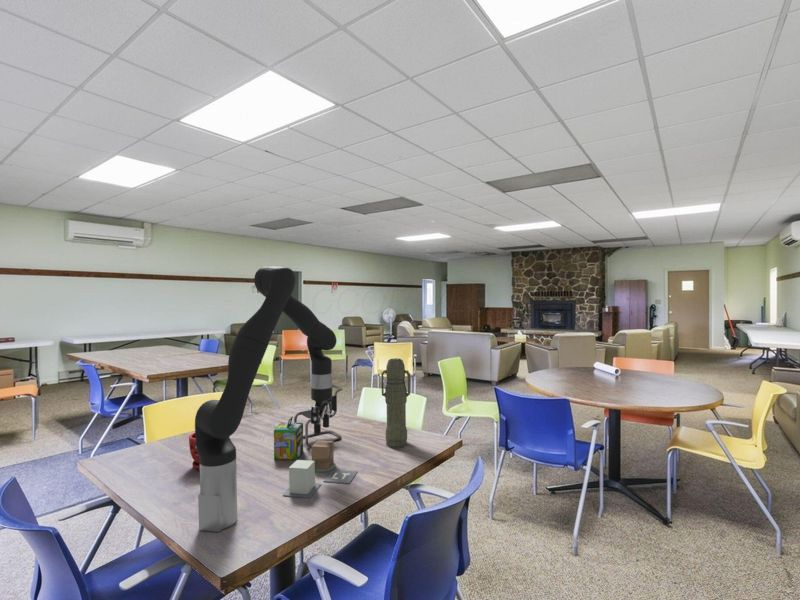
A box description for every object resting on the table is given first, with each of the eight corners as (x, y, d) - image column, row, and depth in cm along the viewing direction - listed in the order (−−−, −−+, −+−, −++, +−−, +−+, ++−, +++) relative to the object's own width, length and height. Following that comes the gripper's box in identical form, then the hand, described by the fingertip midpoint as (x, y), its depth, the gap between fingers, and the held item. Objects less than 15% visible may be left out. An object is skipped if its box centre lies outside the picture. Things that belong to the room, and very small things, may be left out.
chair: (344, 439, 177) (343, 388, 177) (306, 448, 167) (305, 394, 167) (330, 431, 188) (330, 382, 188) (294, 439, 178) (293, 388, 177)
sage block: (307, 494, 128) (307, 468, 128) (289, 492, 130) (289, 467, 129) (315, 485, 134) (314, 460, 134) (297, 484, 135) (297, 459, 135)
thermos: (411, 447, 167) (410, 360, 166) (382, 448, 167) (381, 361, 166) (410, 439, 176) (409, 357, 175) (382, 440, 175) (381, 357, 175)
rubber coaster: (330, 472, 144) (330, 471, 144) (306, 471, 146) (306, 470, 146) (339, 462, 153) (339, 461, 153) (316, 460, 155) (316, 459, 155)
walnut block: (327, 469, 146) (327, 447, 146) (311, 468, 147) (311, 446, 147) (333, 462, 152) (333, 441, 152) (318, 461, 153) (317, 440, 153)
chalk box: (281, 450, 166) (280, 413, 165) (304, 450, 165) (303, 413, 165) (273, 460, 156) (272, 421, 156) (297, 460, 156) (296, 421, 156)
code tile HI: (310, 498, 127) (310, 497, 127) (282, 495, 128) (282, 494, 128) (321, 484, 136) (321, 483, 136) (295, 482, 137) (295, 481, 137)
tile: (349, 483, 136) (349, 482, 136) (323, 481, 138) (323, 480, 138) (357, 472, 145) (357, 471, 145) (332, 470, 146) (332, 469, 146)
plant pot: (236, 459, 157) (235, 428, 157) (211, 474, 144) (211, 440, 144) (207, 456, 161) (206, 425, 160) (181, 470, 148) (180, 437, 148)
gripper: (324, 390, 142) (324, 438, 142) (338, 382, 156) (338, 425, 156) (303, 389, 143) (303, 436, 143) (319, 381, 157) (319, 424, 157)
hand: (321, 430), depth 149 cm, fingers open, 8 cm apart
